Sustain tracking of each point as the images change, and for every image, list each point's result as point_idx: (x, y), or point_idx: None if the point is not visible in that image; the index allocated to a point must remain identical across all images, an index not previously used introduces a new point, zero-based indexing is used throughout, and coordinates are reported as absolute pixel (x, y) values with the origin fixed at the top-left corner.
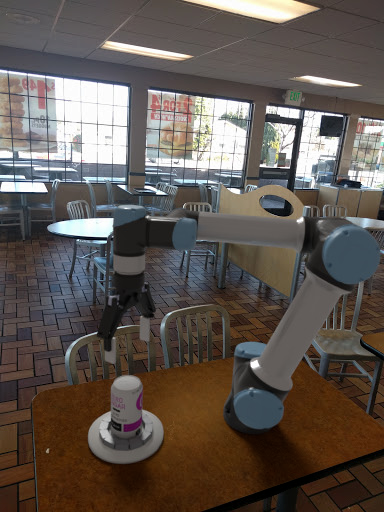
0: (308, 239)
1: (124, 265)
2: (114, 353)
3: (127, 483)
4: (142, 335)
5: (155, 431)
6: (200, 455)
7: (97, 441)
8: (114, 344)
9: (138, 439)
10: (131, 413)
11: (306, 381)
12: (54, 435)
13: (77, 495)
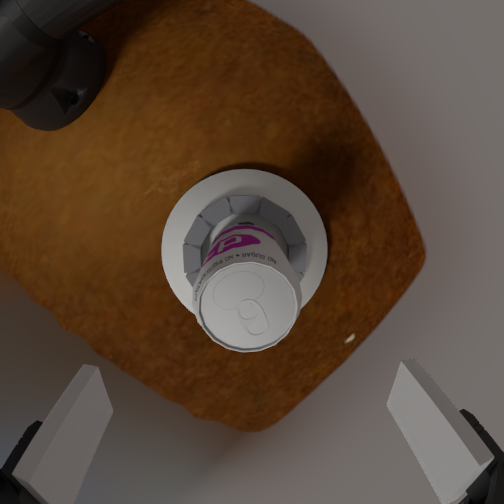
0: None
1: None
2: (438, 394)
3: (344, 170)
4: (98, 416)
5: (206, 200)
6: (205, 88)
7: (302, 284)
8: (468, 432)
9: (264, 208)
10: (271, 242)
11: None
12: (318, 357)
13: (399, 229)
